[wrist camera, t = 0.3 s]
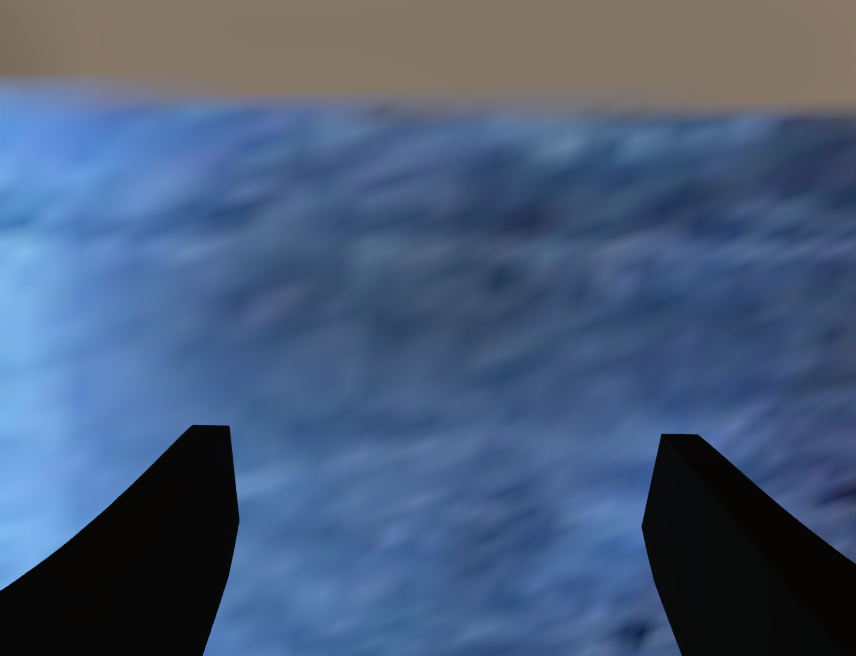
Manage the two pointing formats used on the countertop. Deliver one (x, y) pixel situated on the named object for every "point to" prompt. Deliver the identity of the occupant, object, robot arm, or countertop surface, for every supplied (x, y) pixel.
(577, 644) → the countertop surface
